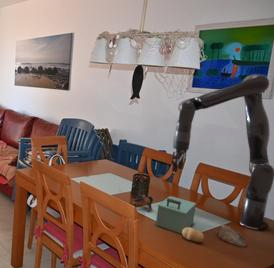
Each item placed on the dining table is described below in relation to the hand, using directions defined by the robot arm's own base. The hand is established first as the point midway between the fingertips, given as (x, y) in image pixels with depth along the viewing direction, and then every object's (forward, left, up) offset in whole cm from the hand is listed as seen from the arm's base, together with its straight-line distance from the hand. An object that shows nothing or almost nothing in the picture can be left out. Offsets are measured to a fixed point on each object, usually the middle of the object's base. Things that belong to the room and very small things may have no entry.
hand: (177, 170), depth 173 cm
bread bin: (-6, +14, -23) cm, 28 cm away
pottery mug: (+13, +6, -24) cm, 27 cm away
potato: (-17, +25, -23) cm, 38 cm away
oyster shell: (-30, +10, -24) cm, 40 cm away
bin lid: (-6, +14, -13) cm, 21 cm away
